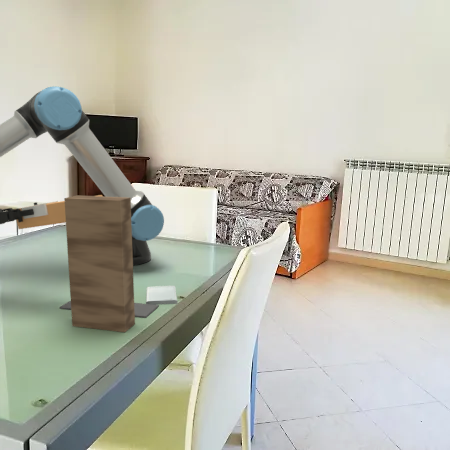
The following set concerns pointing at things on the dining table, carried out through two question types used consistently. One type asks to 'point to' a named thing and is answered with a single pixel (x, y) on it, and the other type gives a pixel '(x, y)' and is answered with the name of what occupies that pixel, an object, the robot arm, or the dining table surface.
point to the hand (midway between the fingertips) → (52, 207)
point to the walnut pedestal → (100, 262)
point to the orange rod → (46, 216)
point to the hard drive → (161, 295)
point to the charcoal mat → (139, 309)
